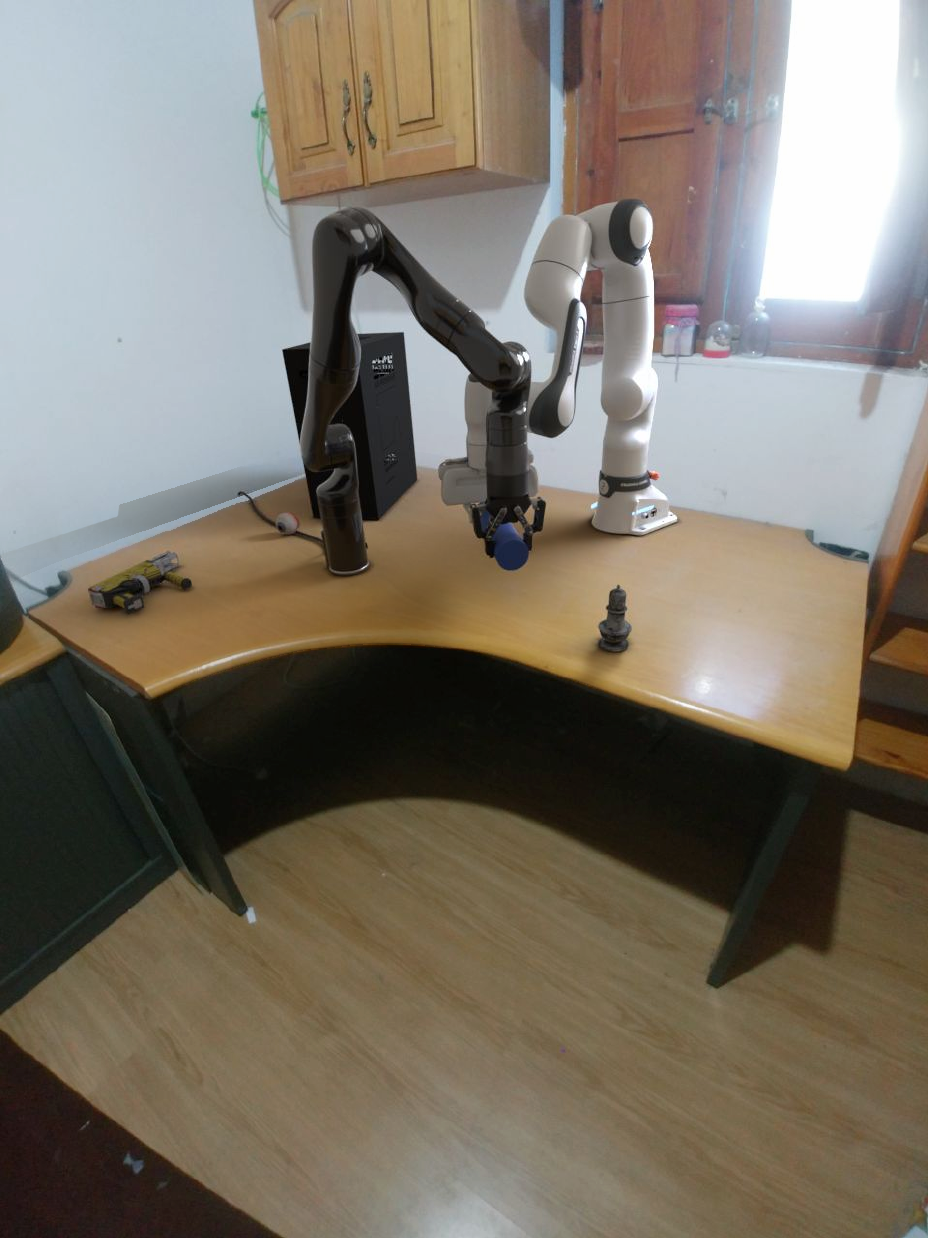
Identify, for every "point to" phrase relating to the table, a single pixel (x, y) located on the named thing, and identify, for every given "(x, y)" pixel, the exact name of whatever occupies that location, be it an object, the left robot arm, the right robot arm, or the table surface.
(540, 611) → the table surface
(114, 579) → the toy gun
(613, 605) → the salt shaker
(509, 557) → the rod
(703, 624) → the table surface
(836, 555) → the table surface
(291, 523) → the eyeball
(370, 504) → the cardboard box
